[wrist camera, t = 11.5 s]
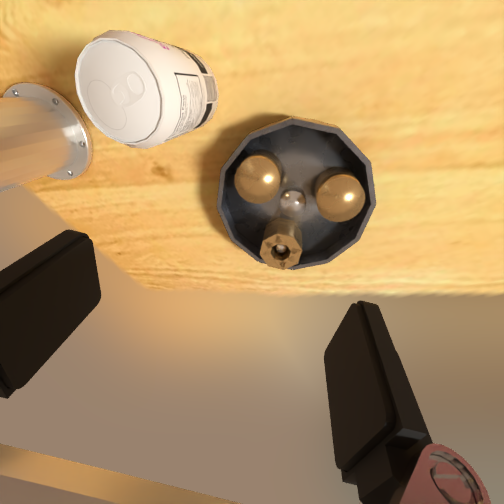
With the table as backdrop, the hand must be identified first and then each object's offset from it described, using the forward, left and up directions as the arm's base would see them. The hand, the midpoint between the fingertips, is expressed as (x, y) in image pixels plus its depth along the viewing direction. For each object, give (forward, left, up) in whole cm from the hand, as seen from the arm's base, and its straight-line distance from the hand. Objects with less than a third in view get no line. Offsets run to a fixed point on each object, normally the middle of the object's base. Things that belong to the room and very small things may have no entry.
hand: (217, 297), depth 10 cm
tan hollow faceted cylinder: (+4, -12, -29) cm, 31 cm away
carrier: (+4, -6, -30) cm, 31 cm away
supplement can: (-12, +4, -30) cm, 32 cm away
